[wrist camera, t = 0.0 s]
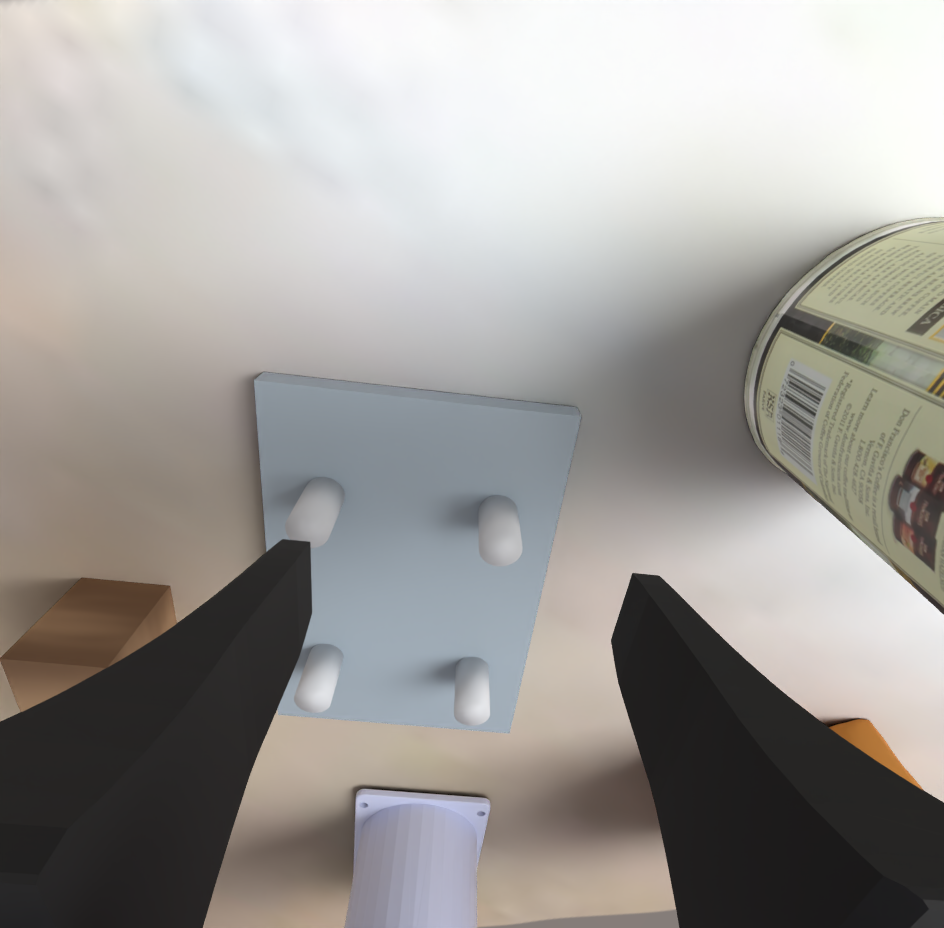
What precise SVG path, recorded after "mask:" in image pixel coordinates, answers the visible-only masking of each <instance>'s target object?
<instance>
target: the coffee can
mask: <svg viewBox="0 0 944 928" xmlns="http://www.w3.org/2000/svg"><path fill="white" fill-rule="evenodd" d="M744 402H745V413H746V417H747V421H748V425H749V428H750V431H751V433H752V436H753V438H754V441H755V443H756V445H757V446H758V448H759V449H760V450H761V451H762V452H763V454H764V455H765V456H766V458H767V459H768V460H769V461H770V462H771V463H772V464H774V465H775V466H776V467H778V468H779V469H780V470H782V471H783V472H784V473H786V474H788V475H789V476H790V477H791V478H792V479H793V480H794V481H795V482H797V483H798V484H799V485H800V486H801V487H802V488H804V490H805V491H806V492H807V493H809V494H810V495H811V496H812V497H813V498H814V499H815V500H817V501H818V502H819V503H820V504H822V505H823V506H824V507H825V508H826V509H827V510H828V511H829V512H830V513H831V514H832V515H834V516H835V517H836V518H837V519H838V520H839V521H840V522H841V523H842V524H844V525H845V526H846V527H847V528H848V529H849V530H851V531H852V532H853V533H854V534H855V535H856V536H857V537H858V538H859V539H861V540H862V541H863V542H864V543H865V544H866V545H867V546H868V547H869V548H870V549H872V550H873V551H874V552H875V553H876V554H877V555H878V556H879V557H881V558H882V559H883V560H884V561H885V562H886V563H887V564H888V565H890V566H891V567H892V568H893V569H894V570H895V571H896V572H897V573H899V574H900V575H901V576H902V577H903V578H904V579H905V580H906V581H908V582H909V583H910V584H911V585H912V586H913V587H914V588H915V589H916V590H917V591H919V592H920V593H921V594H922V595H923V596H924V597H925V598H926V599H928V601H929V602H930V603H932V604H933V605H934V606H935V607H936V608H937V609H938V610H939V611H940V612H941V613H942V614H944V218H921V219H916V220H910V221H905V222H900V223H895V224H892V225H889V226H886V227H884V228H881V229H878V230H876V231H873V232H870V233H868V234H866V235H864V236H862V237H860V238H858V239H856V240H854V241H852V242H851V243H849V244H847V245H846V246H844V247H842V248H840V249H838V250H836V251H834V252H832V253H831V254H830V255H828V256H827V257H826V258H825V259H824V260H823V261H822V262H820V263H819V264H818V265H817V266H816V267H814V268H813V269H812V270H811V271H809V272H808V273H807V274H806V275H805V276H804V277H803V278H802V279H801V280H800V281H799V282H798V283H797V284H796V285H795V286H794V287H792V288H791V289H790V290H789V292H788V293H787V294H786V295H785V296H784V298H783V299H782V300H781V302H780V303H779V304H778V306H777V307H776V308H775V310H774V311H773V312H772V314H771V315H770V317H769V319H768V320H767V322H766V323H765V325H764V327H763V329H762V331H761V333H760V335H759V337H758V339H757V341H756V344H755V345H754V347H753V350H752V355H751V358H750V362H749V366H748V370H747V375H746V380H745V391H744Z"/></svg>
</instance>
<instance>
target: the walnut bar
mask: <svg viewBox="0 0 944 928" xmlns="http://www.w3.org/2000/svg"><path fill="white" fill-rule="evenodd" d="M176 624H177V622H176V616H175V611H174V605H173V600H172V594H171V588H170V586H166V585H155V584H144V583H134V582H123V581H112V580H101V579H90V578H81V579H80V580H79V581H78V582H77V583H76V584H75V585H74V586H73V587H72V588H71V589H70V590H69V591H68V592H67V593H66V594H65V595H64V596H63V597H62V598H61V599H60V600H59V601H58V602H57V603H56V604H55V605H54V606H53V607H52V608H51V609H50V610H48V611H47V612H46V613H45V614H44V615H43V616H42V617H41V618H40V619H39V620H38V621H37V622H36V623H35V624H34V625H33V626H32V627H31V628H30V629H29V630H28V631H27V632H26V633H25V634H24V635H23V636H22V637H21V638H20V639H19V640H18V641H17V642H16V643H15V644H14V645H13V646H12V647H11V648H10V649H9V650H8V651H7V652H6V653H5V654H4V655H3V656H2V657H1V658H0V661H1V664H2V666H3V669H4V671H5V674H6V676H7V679H8V681H9V684H10V686H11V689H12V691H13V694H14V696H15V699H16V702H17V704H18V707H19V709H20V712H23V711H25V710H27V709H29V708H31V707H33V706H35V705H37V704H39V703H41V702H43V701H45V700H47V699H49V698H52V697H54V696H55V695H57V694H59V693H61V692H63V691H65V690H67V689H69V688H71V687H72V686H74V685H76V684H78V683H80V682H82V681H83V680H85V679H87V678H89V677H91V676H93V675H94V674H96V673H98V672H100V671H102V670H104V669H106V668H107V667H109V666H111V665H113V664H115V663H116V662H118V661H120V660H121V659H123V658H125V657H126V656H128V655H130V654H131V653H133V652H135V651H136V650H138V649H139V648H141V647H143V646H144V645H146V644H147V643H149V642H151V641H152V640H154V639H155V638H157V637H158V636H160V635H161V634H163V633H164V632H166V631H167V630H169V629H170V628H171V627H173V626H174V625H176Z"/></svg>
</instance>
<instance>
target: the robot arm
mask: <svg viewBox="0 0 944 928" xmlns="http://www.w3.org/2000/svg"><path fill="white" fill-rule="evenodd" d="M311 616H312V583H311V544H310V542H308V541H298V540H288V539H282V540H280V541H279V542H278V543H277V544H275V545H274V546H273V547H272V548H271V549H269V550H268V551H267V552H266V553H265V554H264V555H262V556H261V557H260V558H259V559H258V560H257V561H256V562H254V563H253V564H252V565H251V566H250V567H248V568H247V569H246V570H245V571H244V572H243V573H241V574H240V575H239V576H238V577H237V578H235V579H234V580H233V581H232V582H230V583H229V584H228V585H227V586H226V587H224V588H223V589H222V590H221V591H219V592H218V593H217V594H216V595H214V596H213V597H212V598H211V599H209V600H208V601H207V602H205V603H204V604H203V605H201V606H200V607H199V608H197V609H196V610H195V611H193V612H192V613H191V614H189V615H188V616H186V617H185V618H184V619H182V620H181V621H180V622H178V623H177V624H176V625H174V626H173V627H171V628H170V629H169V630H167V631H166V632H164V633H163V634H161V635H160V636H158V637H157V638H155V639H154V640H152V641H151V642H149V643H147V644H146V645H144V646H143V647H141V648H139V649H138V650H136V651H135V652H133V653H131V654H130V655H128V656H126V657H125V658H123V659H121V660H120V661H118V662H116V663H115V664H113V665H111V666H109V667H107V668H106V669H104V670H102V671H100V672H98V673H96V674H94V675H93V676H91V677H89V678H87V679H85V680H83V681H82V682H80V683H78V684H76V685H74V686H72V687H71V688H69V689H67V690H65V691H63V692H61V693H59V694H57V695H55V696H54V697H52V698H49V699H47V700H45V701H43V702H41V703H39V704H37V705H35V706H33V707H31V708H29V709H27V710H25V711H23V712H21V713H18V714H16V715H14V716H12V717H10V718H8V719H5V720H3V721H1V722H0V928H203V925H204V921H205V918H206V914H207V911H208V908H209V904H210V901H211V897H212V894H213V890H214V887H215V884H216V880H217V877H218V874H219V871H220V867H221V864H222V861H223V858H224V854H225V851H226V848H227V845H228V841H229V838H230V835H231V832H232V828H233V825H234V822H235V819H236V816H237V813H238V810H239V807H240V804H241V800H242V797H243V794H244V791H245V788H246V785H247V782H248V779H249V776H250V773H251V771H252V768H253V765H254V763H255V760H256V757H257V755H258V752H259V750H260V748H261V745H262V743H263V741H264V738H265V736H266V734H267V731H268V729H269V727H270V724H271V722H272V720H273V717H274V715H275V713H276V710H277V708H278V706H279V704H280V701H281V699H282V697H283V694H284V692H285V690H286V687H287V685H288V683H289V680H290V678H291V675H292V673H293V671H294V668H295V666H296V664H297V661H298V659H299V656H300V653H301V650H302V647H303V643H304V640H305V637H306V633H307V630H308V626H309V623H310V619H311ZM611 643H612V649H613V655H614V662H615V667H616V672H617V678H618V683H619V686H620V690H621V693H622V697H623V700H624V703H625V706H626V710H627V713H628V716H629V719H630V723H631V726H632V729H633V732H634V735H635V739H636V742H637V745H638V748H639V751H640V755H641V758H642V761H643V764H644V767H645V770H646V774H647V777H648V780H649V783H650V787H651V791H652V794H653V798H654V802H655V806H656V810H657V815H658V819H659V824H660V829H661V834H662V838H663V843H664V848H665V853H666V857H667V863H668V868H669V873H670V878H671V884H672V889H673V894H674V900H675V905H676V910H677V916H678V921H679V927H680V928H944V803H943V802H942V801H940V800H938V799H937V798H935V797H933V796H932V795H930V794H928V793H927V792H925V791H924V790H922V789H920V788H919V787H917V786H915V785H914V784H912V783H910V782H909V781H907V780H906V779H904V778H902V777H901V776H899V775H898V774H896V773H895V772H893V771H891V770H890V769H888V768H887V767H885V766H884V765H882V764H881V763H879V762H878V761H876V760H875V759H873V758H872V757H870V756H869V755H867V754H866V753H864V752H863V751H861V750H860V749H859V748H857V747H856V746H854V745H853V744H851V743H850V742H848V741H847V740H845V739H844V738H843V737H841V736H840V735H838V734H837V733H836V732H834V731H833V730H831V729H830V728H829V727H827V726H826V725H825V724H823V723H822V722H821V721H819V720H818V719H817V718H815V717H814V716H813V715H811V714H810V713H809V712H808V711H806V710H805V709H804V708H802V707H801V706H800V705H799V704H797V703H796V702H795V701H793V700H792V699H791V698H790V697H788V696H787V695H786V694H785V693H783V692H782V691H781V690H780V689H779V688H777V687H776V686H775V685H774V684H773V683H771V682H770V681H769V680H768V679H767V678H766V677H765V676H764V675H762V674H761V673H760V672H759V671H758V670H757V669H756V668H754V667H753V666H752V665H751V664H750V663H749V662H748V661H746V660H745V659H744V658H743V657H742V656H741V655H740V654H739V653H738V652H737V651H736V650H735V649H733V648H732V647H731V646H730V645H729V644H728V643H727V642H726V641H725V640H724V639H723V638H722V637H721V636H720V635H719V634H718V633H717V632H716V631H715V630H714V629H713V628H712V627H711V626H710V625H709V624H708V623H707V622H706V621H705V620H704V619H703V618H702V617H701V616H700V615H699V614H698V613H697V612H696V611H695V610H694V609H693V608H692V607H691V606H690V605H689V604H688V603H687V602H686V601H685V600H684V599H683V598H682V597H681V596H680V595H679V594H678V593H677V592H676V591H675V590H674V589H673V588H672V587H671V586H670V585H669V584H667V583H666V582H665V581H664V580H663V579H662V578H661V577H660V576H657V575H647V574H636V573H632V576H631V579H630V583H629V586H628V589H627V592H626V595H625V598H624V601H623V604H622V607H621V611H620V614H619V617H618V620H617V623H616V626H615V629H614V632H613V636H612V639H611ZM489 812H490V801H489V800H488V799H486V798H481V797H468V796H454V795H441V794H428V793H414V792H401V791H388V790H374V789H361V790H359V791H358V792H357V794H356V803H355V837H354V871H353V881H352V887H351V893H350V898H349V904H348V910H347V916H346V921H345V927H344V928H477V866H478V861H479V857H480V852H481V848H482V844H483V839H484V835H485V830H486V826H487V821H488V817H489Z"/></svg>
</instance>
